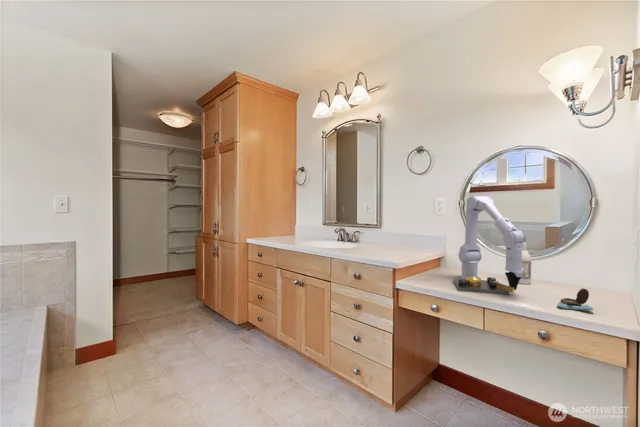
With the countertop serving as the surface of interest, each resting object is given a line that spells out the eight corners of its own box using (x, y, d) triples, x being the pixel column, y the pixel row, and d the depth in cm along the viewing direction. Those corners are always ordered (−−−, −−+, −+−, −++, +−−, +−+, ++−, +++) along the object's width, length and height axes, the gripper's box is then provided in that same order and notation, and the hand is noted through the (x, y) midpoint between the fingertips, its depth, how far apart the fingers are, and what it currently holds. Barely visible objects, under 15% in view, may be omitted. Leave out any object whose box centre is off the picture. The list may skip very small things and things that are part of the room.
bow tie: (556, 306, 113) (557, 309, 109) (556, 301, 113) (557, 305, 109) (591, 309, 107) (594, 313, 103) (591, 304, 107) (594, 308, 103)
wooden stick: (487, 285, 134) (487, 280, 134) (493, 284, 135) (493, 280, 135) (509, 293, 123) (510, 288, 122) (516, 292, 123) (516, 287, 123)
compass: (566, 300, 119) (566, 282, 118) (589, 306, 111) (590, 288, 111) (553, 302, 116) (553, 284, 116) (576, 309, 108) (577, 290, 108)
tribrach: (453, 281, 148) (453, 271, 148) (497, 284, 142) (498, 274, 142) (458, 290, 132) (458, 280, 131) (509, 294, 126) (509, 283, 125)
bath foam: (533, 284, 141) (534, 243, 140) (517, 284, 142) (518, 243, 141) (526, 281, 148) (527, 242, 147) (511, 280, 149) (512, 241, 148)
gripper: (531, 262, 117) (530, 295, 117) (518, 255, 130) (517, 285, 131) (511, 261, 119) (510, 294, 119) (500, 255, 133) (500, 284, 133)
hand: (513, 289), depth 125 cm, fingers closed
